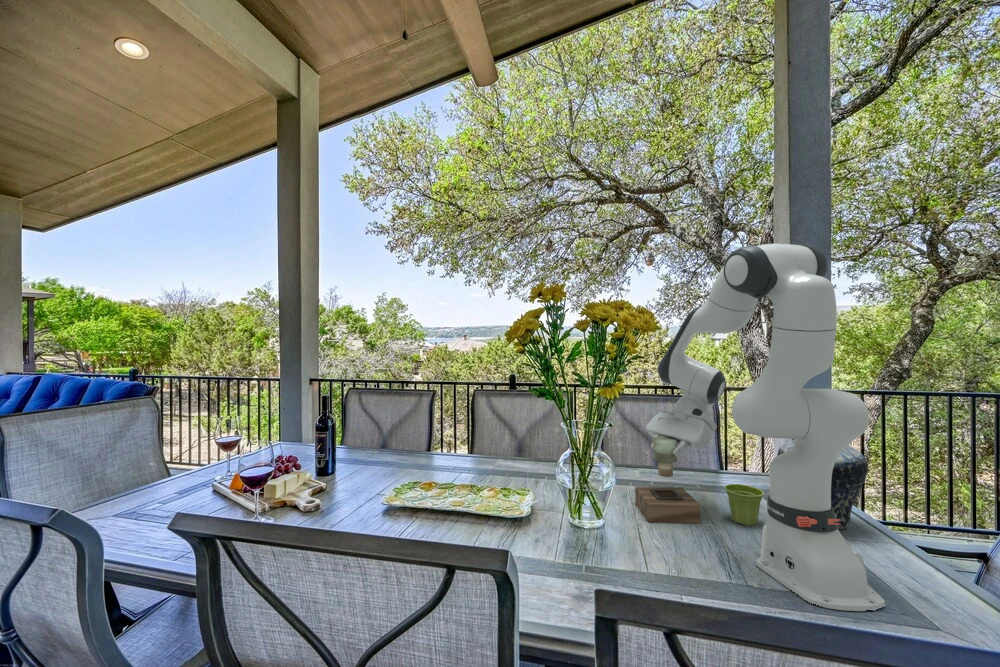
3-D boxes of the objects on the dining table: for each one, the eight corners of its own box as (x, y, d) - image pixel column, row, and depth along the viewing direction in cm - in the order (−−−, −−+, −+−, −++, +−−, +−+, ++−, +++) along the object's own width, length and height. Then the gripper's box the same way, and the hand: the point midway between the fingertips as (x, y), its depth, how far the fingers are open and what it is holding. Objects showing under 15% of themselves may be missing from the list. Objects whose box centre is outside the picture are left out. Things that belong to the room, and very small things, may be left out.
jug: (891, 540, 104) (887, 418, 105) (811, 540, 105) (808, 418, 105) (827, 507, 125) (825, 406, 126) (761, 507, 125) (759, 406, 126)
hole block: (700, 523, 115) (700, 503, 115) (648, 522, 116) (648, 502, 116) (682, 503, 129) (681, 486, 129) (635, 503, 130) (635, 485, 130)
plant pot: (753, 514, 120) (753, 484, 121) (771, 529, 111) (771, 496, 111) (719, 513, 121) (719, 483, 121) (734, 528, 112) (733, 495, 112)
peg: (680, 478, 119) (680, 441, 120) (657, 478, 120) (657, 441, 120) (672, 471, 126) (672, 436, 126) (651, 471, 126) (650, 436, 126)
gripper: (655, 403, 135) (632, 437, 131) (711, 413, 117) (685, 453, 113) (666, 416, 137) (643, 450, 133) (722, 428, 119) (698, 467, 114)
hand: (663, 451), depth 123 cm, fingers closed on peg, 6 cm apart
